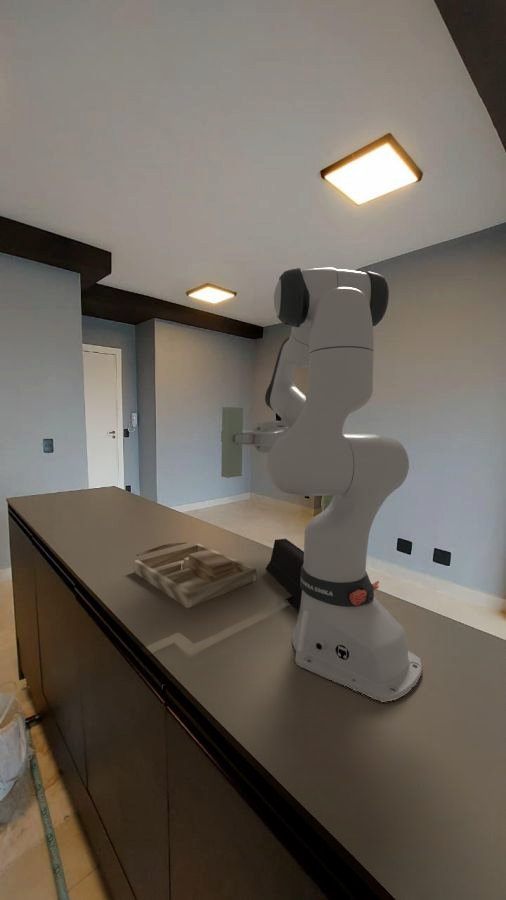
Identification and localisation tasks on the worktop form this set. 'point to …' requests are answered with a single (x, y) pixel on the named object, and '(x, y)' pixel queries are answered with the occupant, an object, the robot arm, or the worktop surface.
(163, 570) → the beige wooden tray
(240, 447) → the sage green plank
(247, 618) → the worktop surface
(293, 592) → the barrier
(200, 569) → the offcut stack
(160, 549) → the wooden fragment
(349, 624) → the robot arm
